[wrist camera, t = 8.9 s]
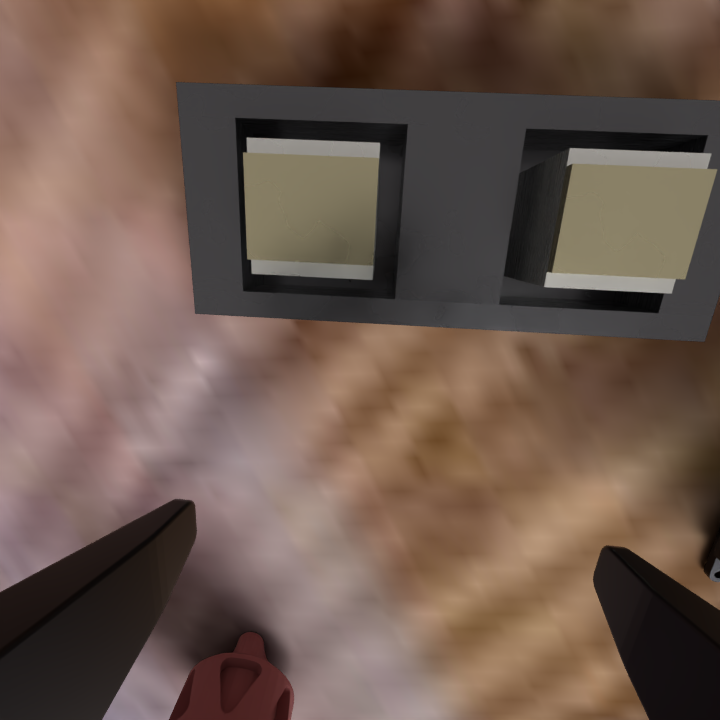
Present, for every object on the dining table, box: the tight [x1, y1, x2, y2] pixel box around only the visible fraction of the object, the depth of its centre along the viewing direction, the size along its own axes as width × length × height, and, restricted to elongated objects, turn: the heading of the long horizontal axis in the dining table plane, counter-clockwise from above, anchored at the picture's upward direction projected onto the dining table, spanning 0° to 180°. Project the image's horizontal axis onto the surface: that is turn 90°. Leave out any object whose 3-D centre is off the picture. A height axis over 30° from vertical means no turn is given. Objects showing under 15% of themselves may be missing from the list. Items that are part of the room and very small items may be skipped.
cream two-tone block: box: [243, 138, 380, 280], centre depth 15 cm, size 4×4×5 cm
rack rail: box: [176, 82, 720, 342], centre depth 16 cm, size 20×8×4 cm, turn 87°
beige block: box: [504, 148, 717, 294], centre depth 14 cm, size 4×4×5 cm
